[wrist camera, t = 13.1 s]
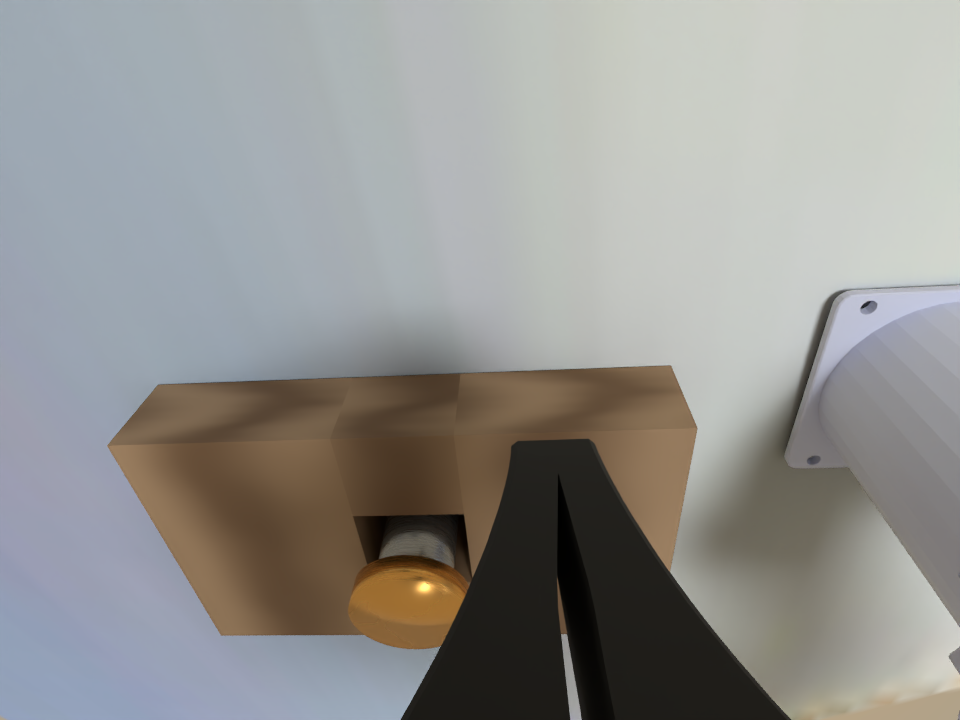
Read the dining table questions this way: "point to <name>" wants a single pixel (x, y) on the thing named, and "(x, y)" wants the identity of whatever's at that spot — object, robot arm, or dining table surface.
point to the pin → (410, 584)
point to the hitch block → (376, 474)
